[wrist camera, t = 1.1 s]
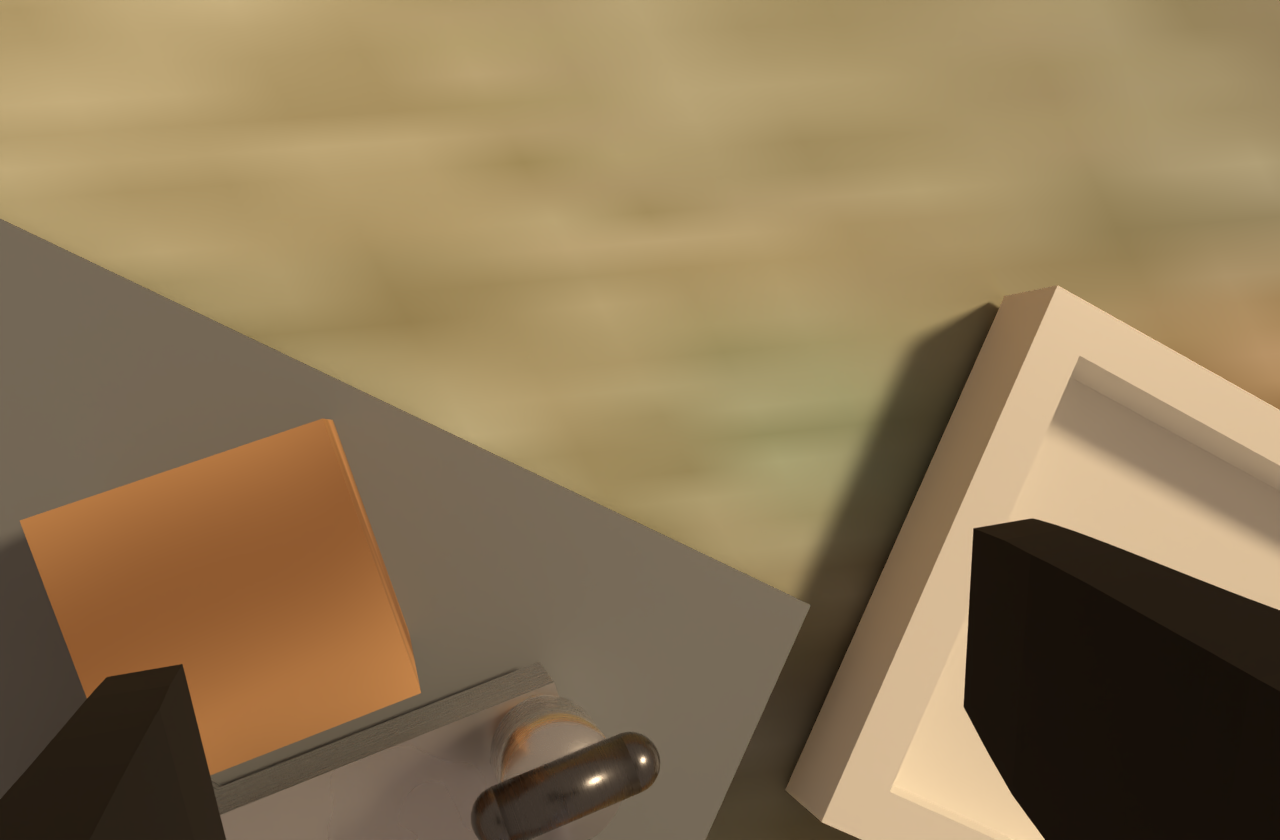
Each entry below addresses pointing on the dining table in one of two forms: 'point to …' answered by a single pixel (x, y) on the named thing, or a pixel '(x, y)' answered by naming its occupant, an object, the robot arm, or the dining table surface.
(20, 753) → the crank base
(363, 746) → the crank
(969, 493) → the tray
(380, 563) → the block
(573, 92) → the dining table surface
